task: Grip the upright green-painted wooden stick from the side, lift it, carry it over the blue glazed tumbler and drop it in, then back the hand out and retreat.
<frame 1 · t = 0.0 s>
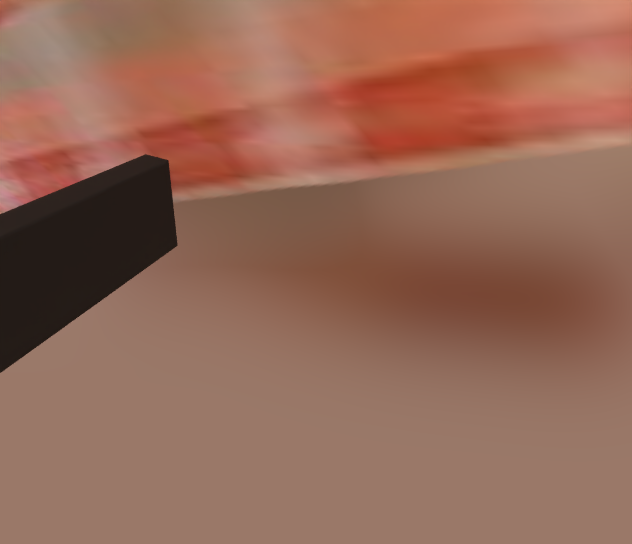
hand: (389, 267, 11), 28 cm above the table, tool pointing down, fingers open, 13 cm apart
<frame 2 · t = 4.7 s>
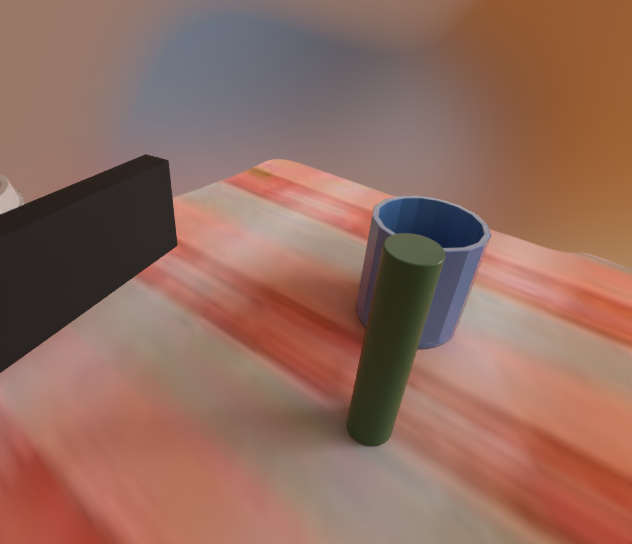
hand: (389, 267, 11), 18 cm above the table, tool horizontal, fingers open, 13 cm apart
tumbler: (405, 313, 39), on the table
stick: (369, 426, 28), on the table
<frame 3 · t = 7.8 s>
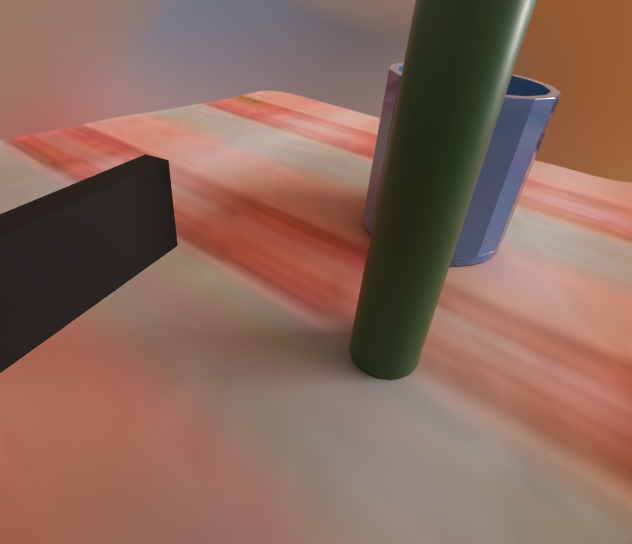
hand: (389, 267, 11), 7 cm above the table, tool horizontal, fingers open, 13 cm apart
tumbler: (429, 229, 29), on the table
stick: (383, 353, 19), on the table
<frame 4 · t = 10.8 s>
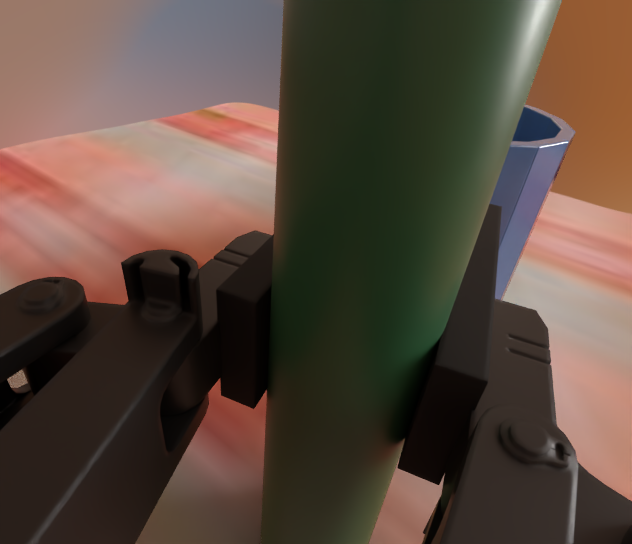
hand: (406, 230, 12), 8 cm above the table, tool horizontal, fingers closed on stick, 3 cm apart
tumbler: (402, 294, 22), on the table
stick: (312, 536, 12), on the table, touching gripper
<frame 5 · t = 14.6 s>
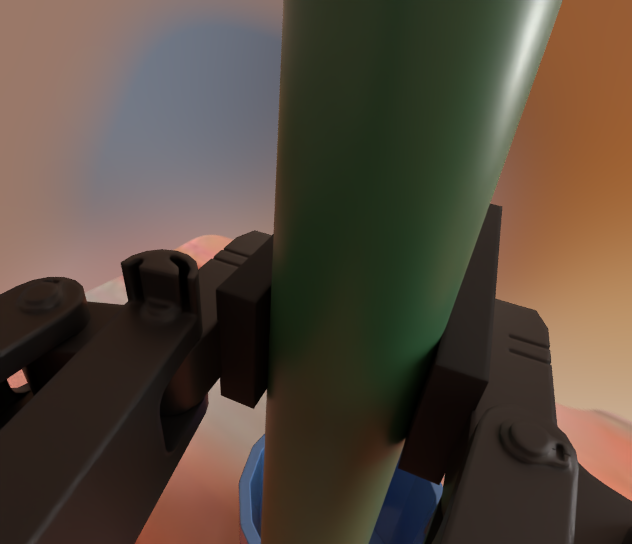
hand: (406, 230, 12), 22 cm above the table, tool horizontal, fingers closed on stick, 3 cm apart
stick: (312, 537, 12), point 14 cm above the table, touching gripper
when the fingers open (12 cm above the table, at t = 18.4 s): stick drops 3 cm, resting on tumbler.
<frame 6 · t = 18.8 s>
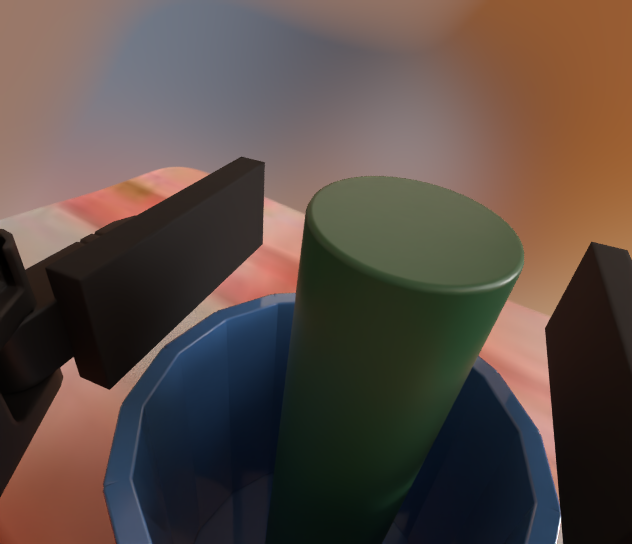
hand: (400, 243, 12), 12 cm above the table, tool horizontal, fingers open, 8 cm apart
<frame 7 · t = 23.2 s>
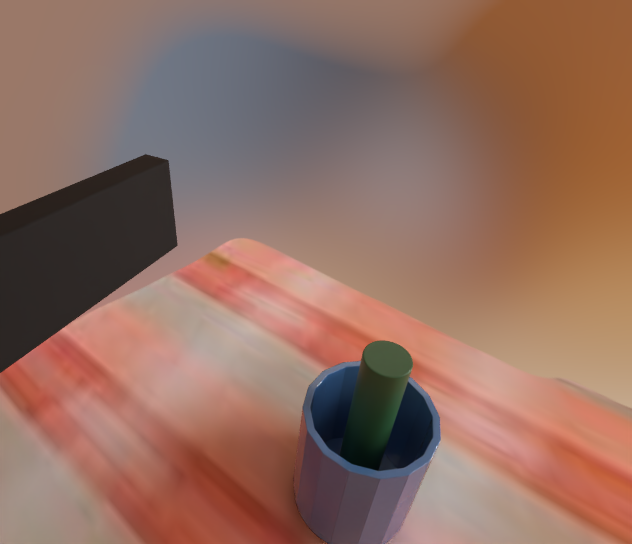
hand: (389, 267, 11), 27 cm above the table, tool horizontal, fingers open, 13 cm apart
tumbler: (350, 488, 33), on the table
stick: (352, 484, 33), point 1 cm above the table, touching tumbler
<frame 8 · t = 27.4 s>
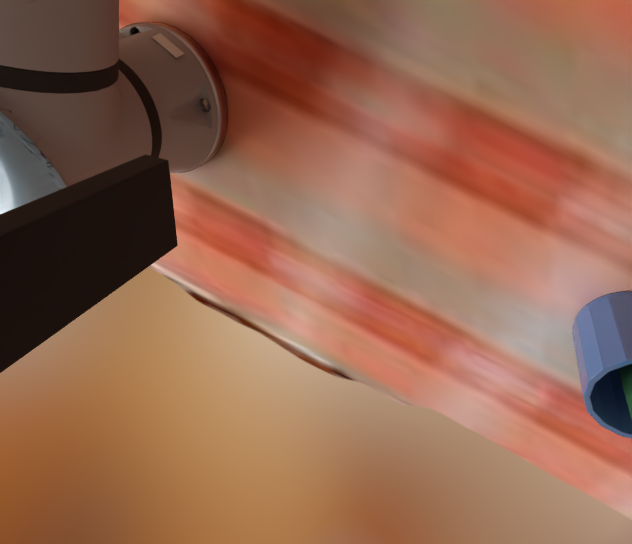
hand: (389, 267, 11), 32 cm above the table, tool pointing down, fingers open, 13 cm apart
tumbler: (626, 330, 41), on the table
stick: (627, 333, 41), point 1 cm above the table, touching tumbler
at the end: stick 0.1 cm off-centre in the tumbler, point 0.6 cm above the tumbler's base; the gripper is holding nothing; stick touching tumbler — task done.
